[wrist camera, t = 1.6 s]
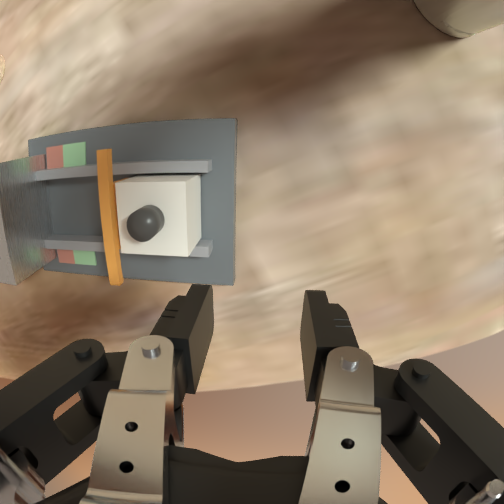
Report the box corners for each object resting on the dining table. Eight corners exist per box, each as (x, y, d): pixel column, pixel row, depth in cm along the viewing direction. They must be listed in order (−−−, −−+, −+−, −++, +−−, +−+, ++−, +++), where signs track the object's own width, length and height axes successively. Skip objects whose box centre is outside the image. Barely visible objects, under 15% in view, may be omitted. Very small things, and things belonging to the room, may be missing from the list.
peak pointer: (125, 146, 27) (96, 150, 22) (134, 145, 26) (107, 149, 21) (133, 261, 31) (110, 284, 26) (142, 262, 31) (119, 285, 26)
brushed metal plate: (28, 156, 28) (-20, 167, 20) (46, 153, 28) (-4, 164, 20) (40, 255, 32) (-1, 282, 24) (58, 256, 32) (16, 285, 24)
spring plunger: (139, 174, 28) (103, 187, 21) (200, 173, 27) (177, 185, 21) (143, 235, 30) (110, 262, 23) (201, 237, 29) (181, 266, 23)
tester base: (36, 139, 28) (17, 141, 25) (237, 119, 27) (232, 116, 24) (50, 265, 34) (34, 276, 31) (235, 279, 33) (230, 295, 29)
